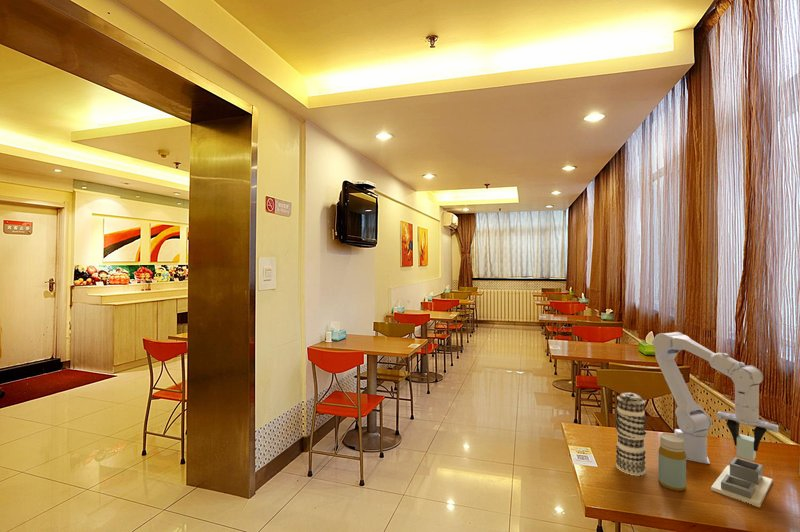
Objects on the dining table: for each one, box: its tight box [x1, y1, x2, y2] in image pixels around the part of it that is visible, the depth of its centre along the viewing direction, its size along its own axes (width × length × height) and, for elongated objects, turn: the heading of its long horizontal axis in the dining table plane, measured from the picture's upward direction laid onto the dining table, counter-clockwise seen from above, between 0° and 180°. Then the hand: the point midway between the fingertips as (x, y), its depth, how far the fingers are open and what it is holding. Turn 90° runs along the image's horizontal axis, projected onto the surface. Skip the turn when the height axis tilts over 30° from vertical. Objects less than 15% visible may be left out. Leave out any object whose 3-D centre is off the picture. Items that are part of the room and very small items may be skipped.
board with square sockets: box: [710, 456, 773, 508], centre depth 122 cm, size 20×11×5 cm, turn 129°
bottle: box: [657, 432, 687, 492], centre depth 122 cm, size 7×7×15 cm
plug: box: [736, 433, 757, 462], centre depth 125 cm, size 5×4×6 cm
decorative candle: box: [614, 392, 648, 477], centre depth 132 cm, size 9×9×25 cm
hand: (746, 447), depth 125 cm, fingers closed on plug, 4 cm apart
